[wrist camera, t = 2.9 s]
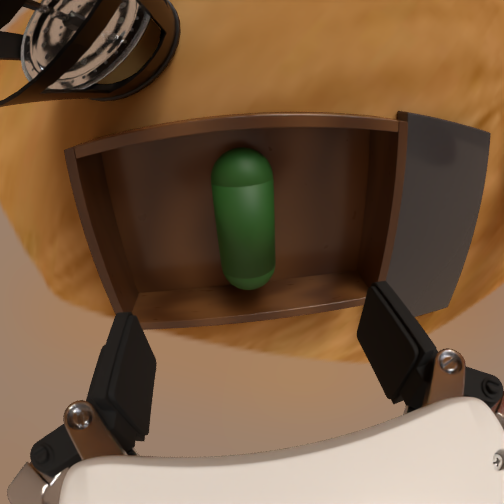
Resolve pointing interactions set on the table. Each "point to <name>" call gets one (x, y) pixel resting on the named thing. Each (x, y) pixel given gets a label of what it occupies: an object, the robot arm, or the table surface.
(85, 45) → the french press
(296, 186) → the brown wooden tray
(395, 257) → the board
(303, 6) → the table surface
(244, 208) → the cucumber
